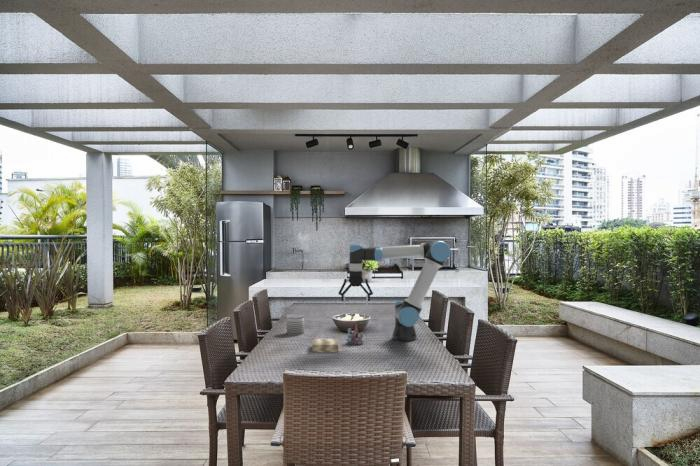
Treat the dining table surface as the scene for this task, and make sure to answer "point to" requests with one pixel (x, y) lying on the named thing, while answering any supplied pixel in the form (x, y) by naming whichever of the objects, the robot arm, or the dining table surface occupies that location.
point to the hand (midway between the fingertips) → (355, 306)
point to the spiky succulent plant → (354, 337)
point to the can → (295, 324)
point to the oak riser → (325, 345)
